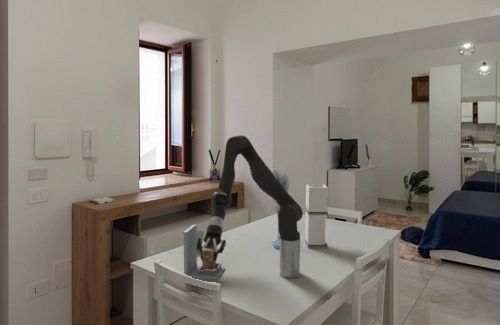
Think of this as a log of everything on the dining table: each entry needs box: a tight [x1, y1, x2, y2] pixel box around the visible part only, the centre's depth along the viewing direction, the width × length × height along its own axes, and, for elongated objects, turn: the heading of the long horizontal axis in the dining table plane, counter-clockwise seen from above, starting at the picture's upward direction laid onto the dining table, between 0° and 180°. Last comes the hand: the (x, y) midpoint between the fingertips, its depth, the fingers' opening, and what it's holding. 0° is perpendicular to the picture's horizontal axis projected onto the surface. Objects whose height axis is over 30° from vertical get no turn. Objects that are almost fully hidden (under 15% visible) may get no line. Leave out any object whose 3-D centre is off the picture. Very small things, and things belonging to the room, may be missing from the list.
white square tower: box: [304, 183, 329, 249], centre depth 205 cm, size 11×11×35 cm
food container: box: [182, 229, 205, 250], centre depth 200 cm, size 12×6×10 cm, turn 105°
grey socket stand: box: [183, 224, 225, 281], centre depth 165 cm, size 16×13×21 cm
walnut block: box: [201, 247, 217, 270], centre depth 165 cm, size 5×6×9 cm
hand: (208, 260), depth 163 cm, fingers closed on walnut block, 5 cm apart
